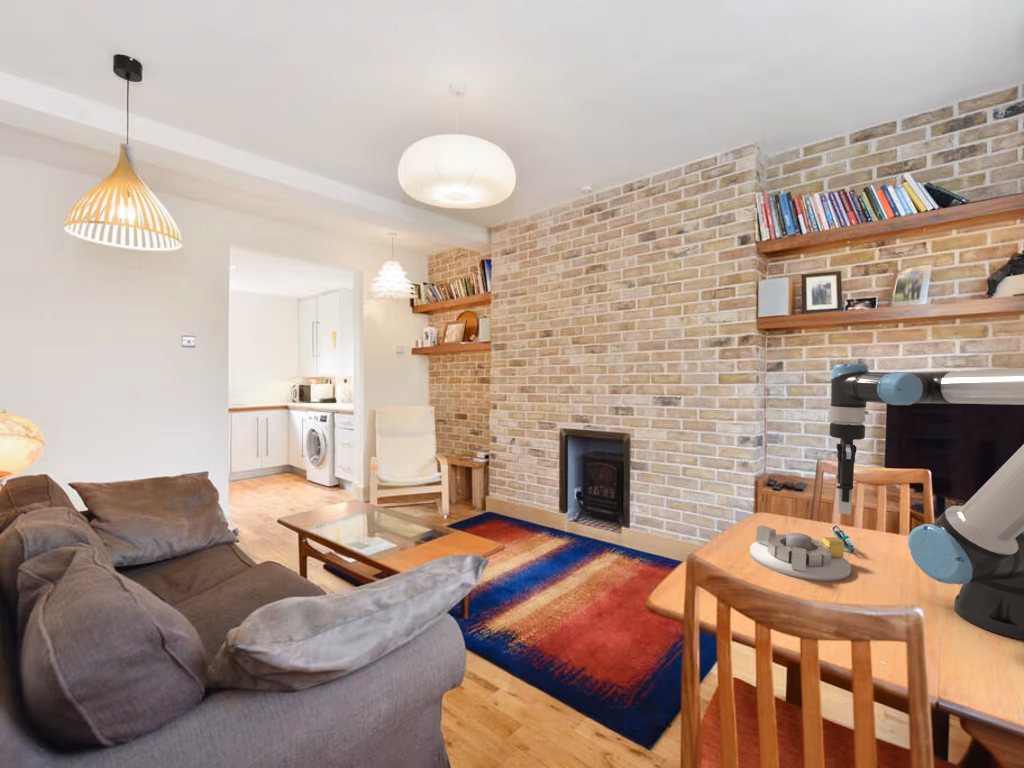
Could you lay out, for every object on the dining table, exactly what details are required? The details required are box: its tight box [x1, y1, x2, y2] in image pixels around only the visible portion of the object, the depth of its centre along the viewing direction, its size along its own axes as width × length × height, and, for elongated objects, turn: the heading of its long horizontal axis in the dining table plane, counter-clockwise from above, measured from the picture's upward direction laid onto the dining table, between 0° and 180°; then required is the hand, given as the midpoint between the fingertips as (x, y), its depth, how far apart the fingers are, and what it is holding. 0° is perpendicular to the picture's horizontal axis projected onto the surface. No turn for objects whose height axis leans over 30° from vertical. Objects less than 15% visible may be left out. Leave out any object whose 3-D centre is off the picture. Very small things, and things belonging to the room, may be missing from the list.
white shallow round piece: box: [749, 532, 852, 582], centre depth 131 cm, size 24×24×7 cm
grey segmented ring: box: [755, 525, 845, 572], centre depth 131 cm, size 21×19×4 cm
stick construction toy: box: [831, 524, 856, 554], centre depth 142 cm, size 12×7×8 cm
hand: (843, 511), depth 123 cm, fingers open, 3 cm apart
